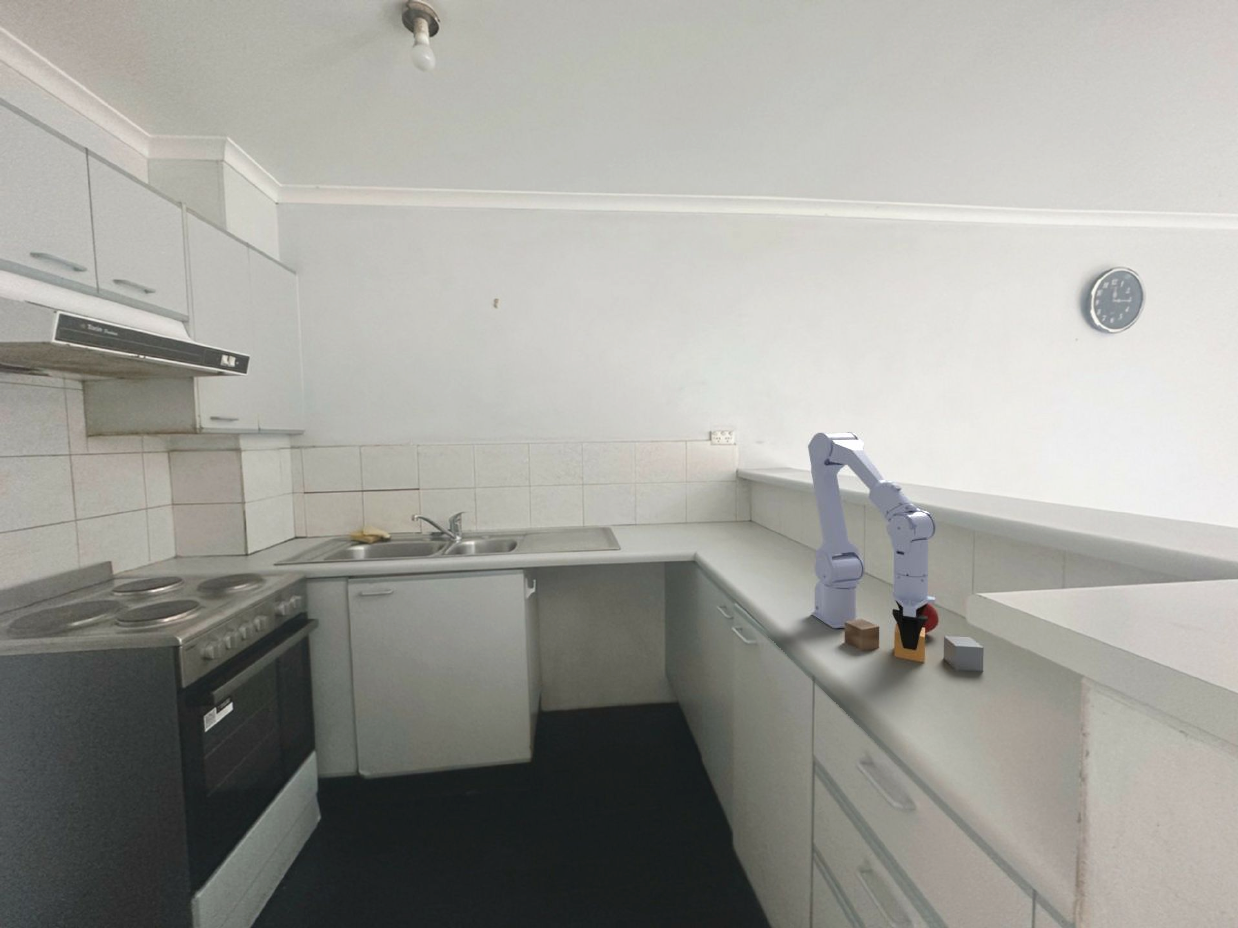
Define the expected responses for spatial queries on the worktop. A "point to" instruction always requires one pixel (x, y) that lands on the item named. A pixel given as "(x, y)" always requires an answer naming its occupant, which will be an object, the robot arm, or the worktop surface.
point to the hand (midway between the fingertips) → (910, 641)
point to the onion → (930, 618)
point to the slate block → (963, 653)
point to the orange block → (908, 653)
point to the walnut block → (862, 634)
